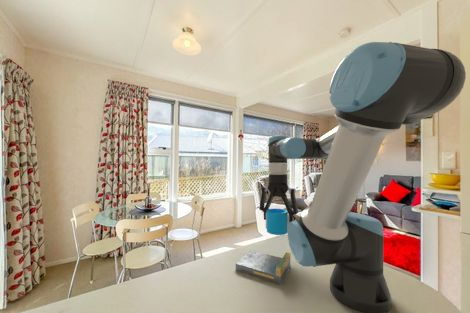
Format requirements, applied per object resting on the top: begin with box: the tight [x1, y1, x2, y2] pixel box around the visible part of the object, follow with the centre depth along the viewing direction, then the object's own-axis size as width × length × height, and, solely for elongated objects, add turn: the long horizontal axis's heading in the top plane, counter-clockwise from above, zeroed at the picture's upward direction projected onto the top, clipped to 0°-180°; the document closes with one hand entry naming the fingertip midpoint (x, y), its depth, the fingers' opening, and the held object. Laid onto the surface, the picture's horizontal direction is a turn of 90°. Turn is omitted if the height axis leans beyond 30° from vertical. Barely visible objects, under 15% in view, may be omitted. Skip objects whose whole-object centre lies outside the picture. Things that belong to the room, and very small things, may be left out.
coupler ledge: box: [235, 249, 291, 286], centre depth 73 cm, size 16×12×5 cm
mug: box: [266, 208, 288, 236], centre depth 84 cm, size 12×8×8 cm
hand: (278, 229), depth 83 cm, fingers closed on mug, 8 cm apart
